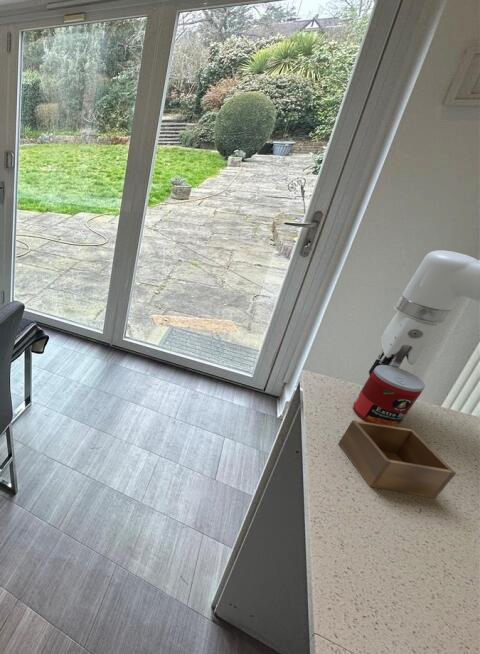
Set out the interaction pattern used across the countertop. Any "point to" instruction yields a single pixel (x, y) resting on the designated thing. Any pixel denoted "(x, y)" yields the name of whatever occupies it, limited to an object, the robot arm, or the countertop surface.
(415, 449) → the box
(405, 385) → the canned food
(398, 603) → the countertop surface
